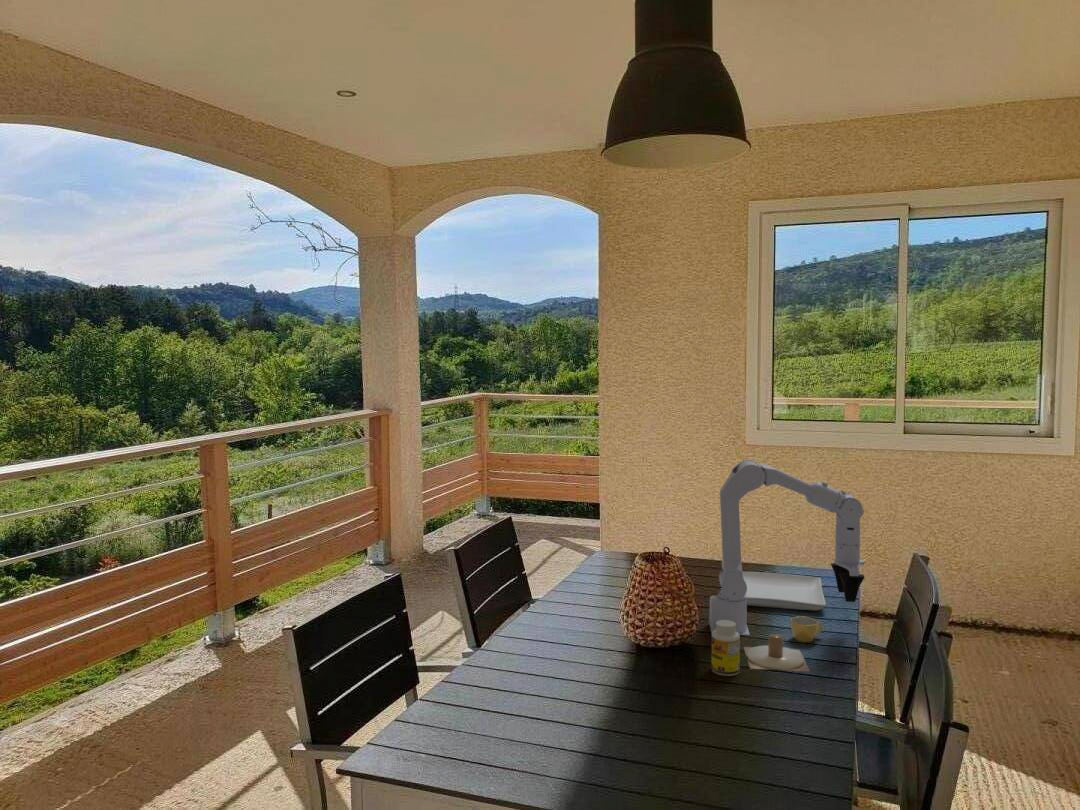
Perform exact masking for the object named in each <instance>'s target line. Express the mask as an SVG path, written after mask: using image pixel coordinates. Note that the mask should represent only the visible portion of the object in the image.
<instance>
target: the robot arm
mask: <svg viewBox="0 0 1080 810" xmlns="http://www.w3.org/2000/svg"><path fill="white" fill-rule="evenodd" d="M763 484H764V486H765V487H768V486H773V485H777V486H780V487H783V488H785V489H788V490H790V491H792V492H795V493H798V494H800V495H803V496H805V499H806V501H807V503H809V504H811V505H813V506H816V507H818V508H820V509H823V510H824V511H827V512H830V513H835V514H836V516H835V517H836V518H835V519H836V520H835V539H834V540H835V543H834V549H835V550H834V553H835V554H834V559H833V561H834V562H831V563H830V565H831V567H832V570H833V574H834V576H835V581H836V585H837V590H838V593H844V599H845V602H846V603H847V602H848V603H849V602H850V603H856V600H857V596H858V592H859V589H860V587H861V584H862V582H863V581H864V580H865V575H864V574H862V573H861V574H860V571H859V570H860V567H861V566H863V565H866V563H865V560H863V559H860V558H861V557H860V556H861V555H860V554H861V553H860V552H861V551H860V550H861V523H860V522H861V518H862V517H863V515H864V511H865V510H864V508H863V505H862V503H861V502H860V500H858V499H857V498H855V497H854V496H853V495H851V494H850V493H847V492H846V491H845V490H842V489H841V490H838V489H835V488H833V487H831V486H829V484H828V483H827V482H825V481H821V482H819V481H815V482H813V483H809V482H806V481H804V480H802V479H799V478H798V477H795V476H794V475H791V474H789V473H786V472H785V471H782V470H780V469H779V468H777V467H776V468H775V467H773V466H770V465H768V464H764V463H761V462H759V464H758V463H757V462H755V461H754V460H752V459H744V460H742V461H740V462H739V463H738V464H736V465H735V466H734V467H733V468H732V469H731V471H730V474H729V475H728V477H727V479H726V480H725V481H724V483H723V485H722V487H721V488H720V491H719V500H720V504H719V505H720V523H721V524H720V526H721V527H720V529H721V553H722V554H721V555H722V558H721V559H722V561H721V570H720V572H719V574H718V582H719V584H720V587H721V588H720V590H719V592H718V593H717V595H710V597H709V617H708V625H709V630H710V632H711V634H712V632H713V631H714V630H716V628H715V627H716V622H717V621H719V620H729V621H733V622H735V624H736V632H738V633H739V635H740V636H743V635H744V636H750V635H751V634H750V632H749V628H748V625H747V623H748V622H747V619H748V617H747V616H748V612H747V610H748V605H747V595H746V592H747V585H746V582H745V581H744V579H743V572H742V571H743V567H742V550H741V549H742V548H741V543H742V542H741V522H740V520H741V519H740V517H741V516H740V500H741V499H742V498H744V496H746V495H747V494H748V493H750V492H753V491H755V490H757V489H759V488H761V487H762V486H763Z"/></svg>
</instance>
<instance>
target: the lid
mask: <svg viewBox="0 0 1080 810" xmlns="http://www.w3.org/2000/svg"><path fill="white" fill-rule="evenodd" d="M748 659H749V660H750V661H751V662H753V663H754V664H756V665H759V666H762V667H766V668H770V669H779V670H778V671H783V670H788V669H795V668H798V667H801V666H802V665H803V664H804V660H805V658H804V656H803V654H802V653H801V654H800V653H799V652H797V651H795V650H793V649H792V648H789V647H785V646H784V637H783V635H781V634H779V633H771V634H768V644H767V645H766V644H765V645H758V646H753V648H751V649H750V650H749V651H748Z"/></svg>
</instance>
